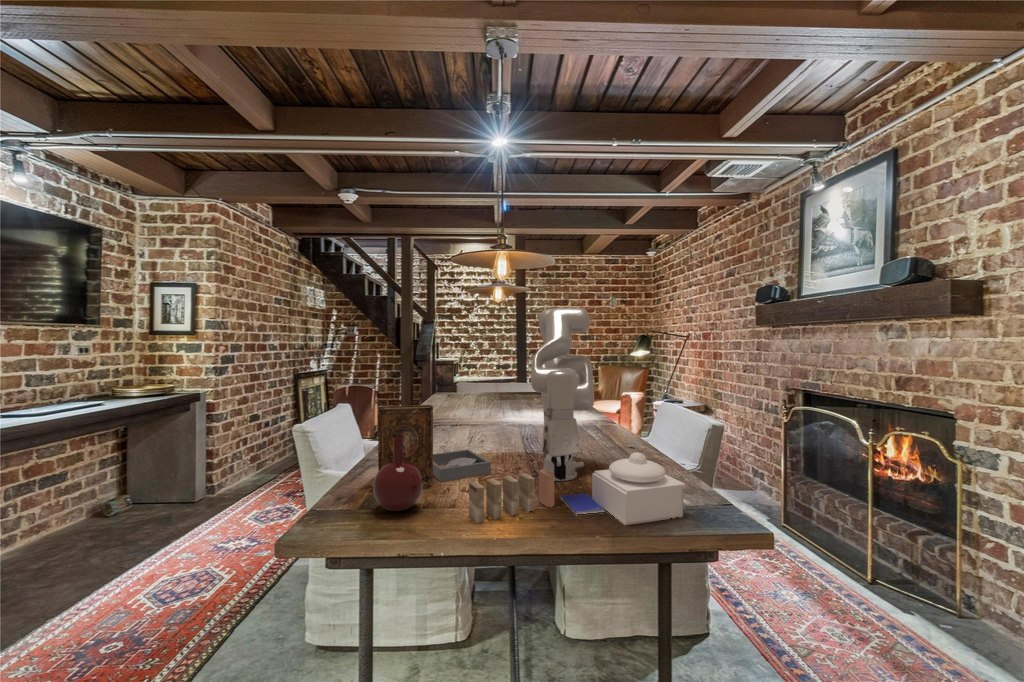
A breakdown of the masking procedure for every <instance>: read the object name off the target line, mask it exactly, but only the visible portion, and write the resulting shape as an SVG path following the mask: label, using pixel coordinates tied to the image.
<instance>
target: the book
mask: <svg viewBox="0 0 1024 682" xmlns="http://www.w3.org/2000/svg"><path fill="white" fill-rule="evenodd" d="M377 415H378V418H377V419H378V421H377V424H378V425H377V426H378V428H377V430H378V433H377V434H378V435H377V436H378V440H377V444H378V448H377V449H378V452H377V453H378V455H377V456H378V459H377V463H378V464H377V466H378V469H377V470H378V471H379V470H380V469H381V468H382V467H383V466H384V465H386V464H388V463H390V462H392V461H393V438H392V437H393V436H396V435H402V436H404V438H403V461H407V462H410V463H412V464H413V465H414V466H416V467H417V469H418V470H419V471H420V473H421V476H422V479H423V488H426V489H431V488H430V487H432V486H434V476H433V454H434V405H431V404H420V405H419V404H418V405H415V404H414V405H411V404H410V405H388V406H386V405H385V406H383V405H382V406H380V407H379V410H378V414H377ZM378 471H377V472H378ZM432 488H433V487H432Z"/></svg>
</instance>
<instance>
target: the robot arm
mask: <svg viewBox="0 0 1024 682" xmlns="http://www.w3.org/2000/svg"><path fill="white" fill-rule="evenodd" d="M588 312H589V311H588V310H587V309H586V308H583V307H555V308H546V309H544V310H543V311H540V313H539V315H538V328H539V332H540V336H541V339H542V341H543V343H544V344H543V345H542V346H541V347H539V348H538V349H537V351H536V352H535V354H534V355H533V357H532V359H531V368H530V369H531V370H530V371H531V373H530V385H531V388H532V390H533V391H534V392H536V393H540V394H541V395H540V396H541V402H542V408H543V430H542V441H541V442H542V443H541V445H542V447H541V448H542V453H543V457H542V458H543V468H541V469H540V470H546V471H548V472H550V473H552V474H554V482H556V481H557V482H565V481H570V480H574V479H576V478H577V476H578V472H577V471H576V469H577V468H583V467H584V466H585V463H584V461H576V460H573V458H574V457H576V456H577V453H579V450H580V437H579V426H578V422H577V419H576V417H574V416H575V415H574V411H589V410H591V409H592V408H594V405H595V389H594V388H595V387H594V375H593V365H592V362H591V361H592V360H590V358H589V357H588V356H586V355H583V354H570V353H571V350H572V347H573V334H581V333H582V334H583V333H587V332H588V331H589V328H590V325H591V324H590V322H591V321H590V315H589V313H588ZM544 364H545V367H542V366H543V365H544Z"/></svg>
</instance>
